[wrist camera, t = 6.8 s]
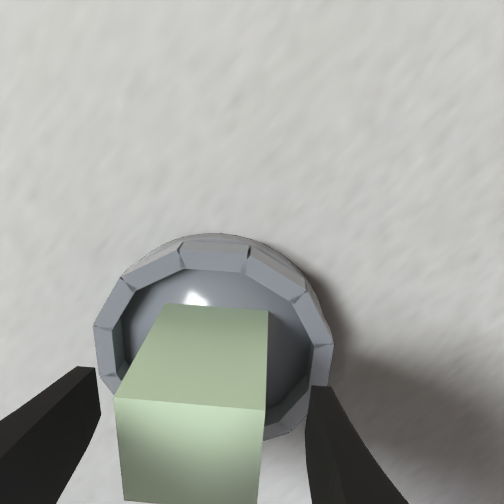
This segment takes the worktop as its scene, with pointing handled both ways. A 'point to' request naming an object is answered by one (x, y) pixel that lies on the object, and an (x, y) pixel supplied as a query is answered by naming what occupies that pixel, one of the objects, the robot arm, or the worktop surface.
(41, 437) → the robot arm
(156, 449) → the block
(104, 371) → the dish
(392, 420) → the worktop surface
